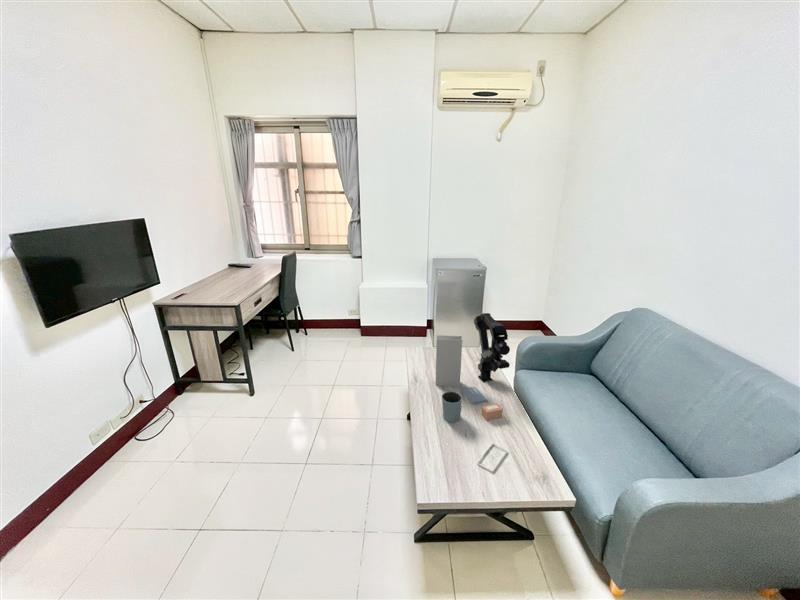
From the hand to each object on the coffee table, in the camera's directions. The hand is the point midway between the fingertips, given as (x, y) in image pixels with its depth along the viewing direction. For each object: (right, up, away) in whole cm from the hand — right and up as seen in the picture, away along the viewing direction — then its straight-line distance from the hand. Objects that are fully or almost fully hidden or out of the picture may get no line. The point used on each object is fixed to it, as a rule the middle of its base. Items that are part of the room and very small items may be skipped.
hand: (494, 371), depth 187 cm
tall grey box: (-25, -10, +11) cm, 29 cm away
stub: (-7, -19, -18) cm, 27 cm away
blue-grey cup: (-27, -19, -18) cm, 38 cm away
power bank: (-14, -28, -44) cm, 54 cm away
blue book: (-12, -13, -1) cm, 18 cm away
